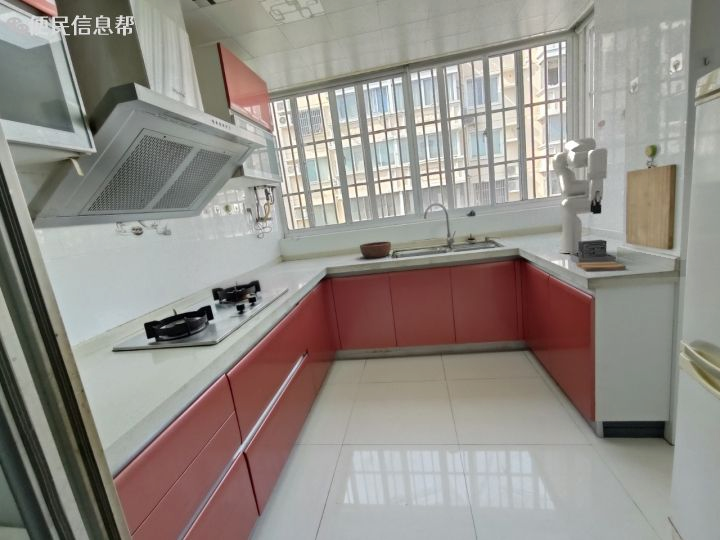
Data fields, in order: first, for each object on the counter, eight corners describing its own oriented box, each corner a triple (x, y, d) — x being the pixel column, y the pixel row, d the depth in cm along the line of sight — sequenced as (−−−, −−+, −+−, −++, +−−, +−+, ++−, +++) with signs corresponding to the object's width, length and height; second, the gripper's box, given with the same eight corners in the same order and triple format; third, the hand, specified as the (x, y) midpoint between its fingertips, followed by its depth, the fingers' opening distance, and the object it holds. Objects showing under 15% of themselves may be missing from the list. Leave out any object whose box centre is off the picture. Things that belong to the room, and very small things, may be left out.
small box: (601, 259, 168) (601, 239, 166) (606, 261, 162) (607, 240, 160) (577, 260, 171) (578, 240, 169) (582, 263, 165) (582, 242, 163)
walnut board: (576, 265, 161) (576, 262, 161) (612, 263, 157) (612, 260, 156) (586, 271, 149) (586, 268, 149) (625, 269, 144) (625, 266, 144)
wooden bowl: (367, 254, 281) (365, 242, 279) (395, 252, 272) (394, 240, 270) (356, 259, 258) (355, 247, 256) (386, 258, 249) (385, 244, 247)
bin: (570, 259, 175) (570, 254, 174) (604, 258, 170) (604, 252, 170) (578, 264, 163) (578, 258, 163) (615, 262, 158) (615, 256, 158)
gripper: (585, 177, 164) (584, 212, 168) (589, 177, 149) (588, 215, 153) (603, 175, 160) (602, 210, 164) (609, 175, 146) (608, 213, 149)
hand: (595, 212), depth 158 cm, fingers open, 9 cm apart
